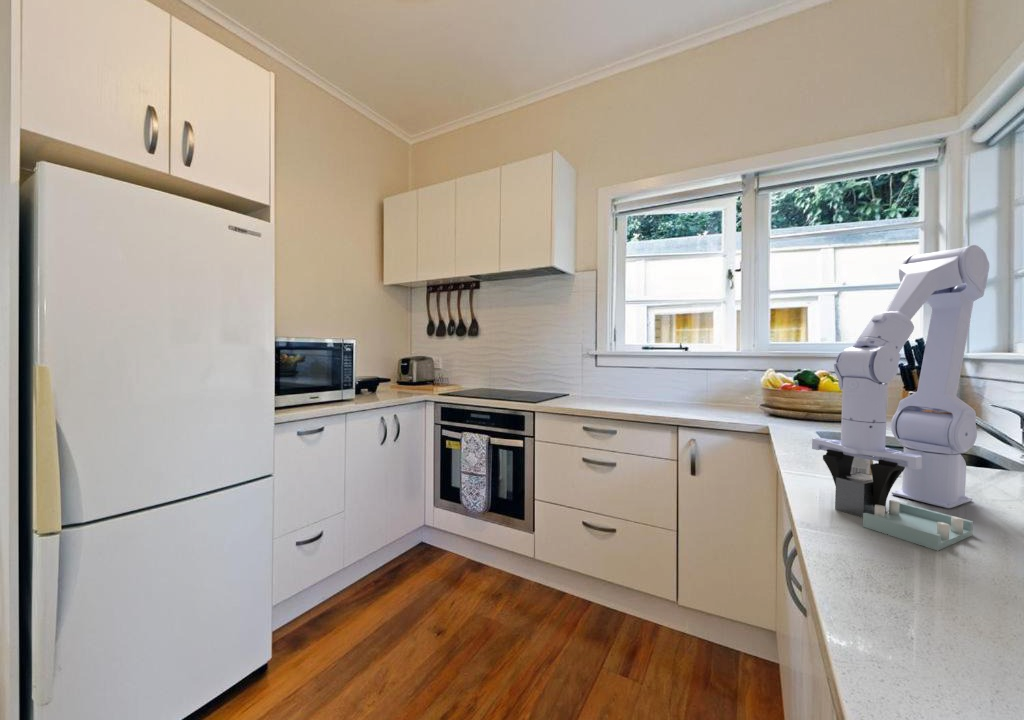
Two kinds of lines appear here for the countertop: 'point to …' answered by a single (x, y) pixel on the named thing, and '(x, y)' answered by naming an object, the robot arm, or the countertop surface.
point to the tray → (918, 525)
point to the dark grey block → (855, 494)
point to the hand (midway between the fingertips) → (860, 501)
